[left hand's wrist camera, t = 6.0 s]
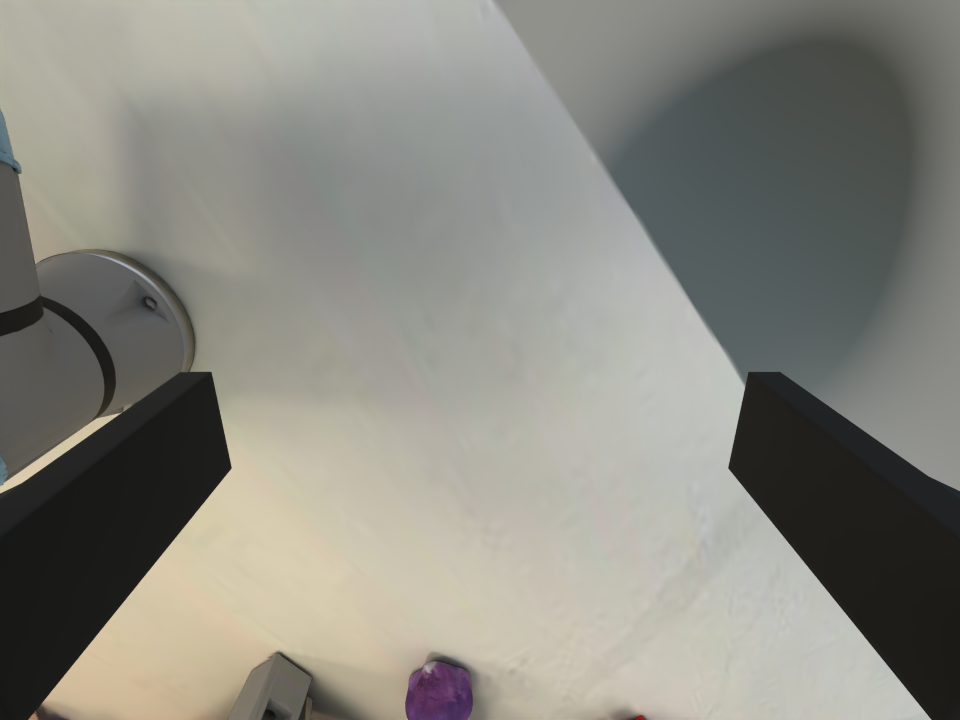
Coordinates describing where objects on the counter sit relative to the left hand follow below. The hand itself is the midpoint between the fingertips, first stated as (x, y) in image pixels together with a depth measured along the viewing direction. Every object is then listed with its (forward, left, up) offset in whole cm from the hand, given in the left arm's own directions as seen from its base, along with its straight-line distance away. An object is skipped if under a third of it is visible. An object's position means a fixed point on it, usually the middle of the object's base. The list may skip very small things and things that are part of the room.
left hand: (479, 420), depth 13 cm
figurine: (+11, -57, -35) cm, 67 cm away
